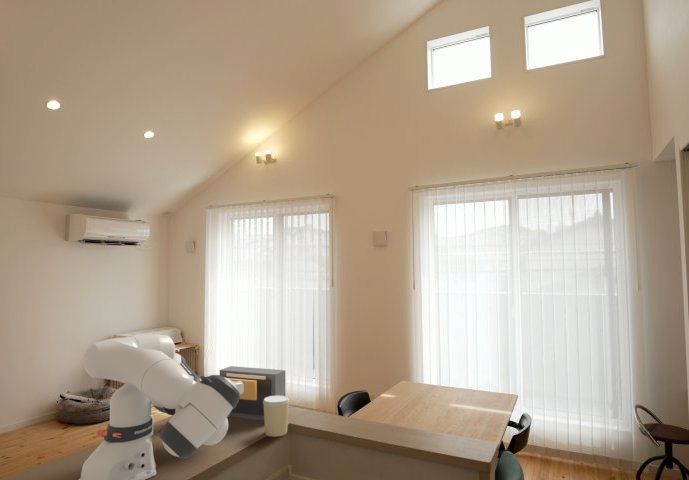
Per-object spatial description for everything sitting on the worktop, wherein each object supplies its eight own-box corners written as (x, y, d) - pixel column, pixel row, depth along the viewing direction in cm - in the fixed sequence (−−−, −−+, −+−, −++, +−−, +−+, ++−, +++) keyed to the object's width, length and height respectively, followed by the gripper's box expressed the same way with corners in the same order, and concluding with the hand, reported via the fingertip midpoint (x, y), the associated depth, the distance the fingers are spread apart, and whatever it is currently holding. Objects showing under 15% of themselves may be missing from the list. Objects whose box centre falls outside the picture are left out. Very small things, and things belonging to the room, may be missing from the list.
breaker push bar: (254, 400, 170) (254, 381, 170) (219, 396, 176) (219, 378, 176) (259, 398, 173) (259, 379, 173) (224, 394, 178) (224, 376, 179)
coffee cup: (285, 426, 168) (285, 394, 169) (292, 434, 160) (292, 400, 161) (260, 430, 165) (260, 397, 166) (266, 439, 156) (266, 403, 157)
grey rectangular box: (274, 422, 173) (274, 375, 174) (217, 415, 182) (218, 370, 183) (285, 415, 181) (285, 370, 182) (230, 409, 190) (231, 366, 192)
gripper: (180, 397, 158) (206, 387, 171) (229, 403, 151) (252, 392, 164) (180, 379, 159) (206, 371, 172) (229, 384, 151) (252, 375, 164)
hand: (229, 381), depth 168 cm, fingers open, 8 cm apart
